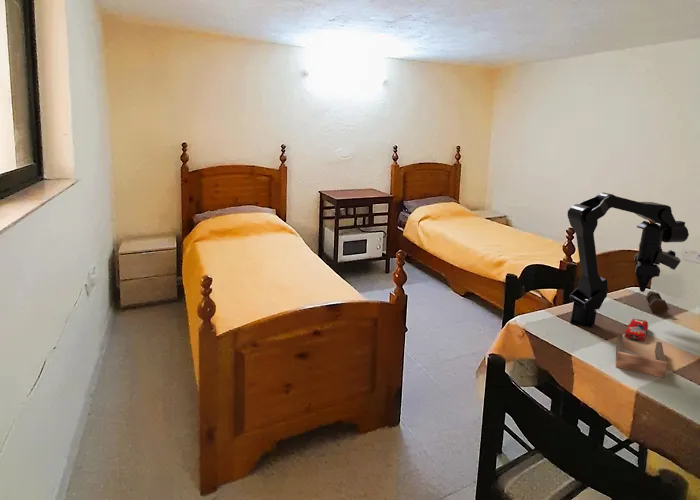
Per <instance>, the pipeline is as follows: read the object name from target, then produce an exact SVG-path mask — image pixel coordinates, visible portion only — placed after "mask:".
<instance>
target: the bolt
mask: <svg viewBox="0 0 700 500" xmlns="http://www.w3.org/2000/svg"><path fill="white" fill-rule="evenodd" d="M645 299H646V301H647V303H648V307H649V309H650V311H651V313H652V314H656V315H664V314H665V313H666V312H667V311H668V310H669V306H668V304H667V302H666V300H665V299H663V298H662V297H661V295H660V293H659V292H656V291H651V290H650V291H649V292H647V294H646V295H645Z"/></svg>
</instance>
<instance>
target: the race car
mask: <svg viewBox="0 0 700 500" xmlns="http://www.w3.org/2000/svg"><path fill="white" fill-rule="evenodd" d="M626 326H627V328H626V330H625V332H624V333H625V334H624V337H625V338H628V339H631V340H634V341H640V342H644V341H645V339H646V336H647V333H648V330H649V323H648V321H647V320H644V319H640V318H632V319H631V320H630V321H629V323H628V324H626Z"/></svg>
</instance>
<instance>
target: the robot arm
mask: <svg viewBox="0 0 700 500" xmlns="http://www.w3.org/2000/svg"><path fill="white" fill-rule="evenodd" d="M611 208H613V209H616V210H620V211H624V212H629V213H633V214H635V215H636V216H638V217H640V218H642V219H644V220H643V221H642V222H640V223H639V224H637V225H636V228H638V229H642V230H641V231H642V232H641V236H640V241H639V245H638V252H637V253H635V254H634V258H633V259H634V268H635V270H634V271H635V277H636V279H637V280H636V281H637V284H638V288H639V291H640V293H641V292H642V293H645V291H646V290H647V287H648V285H649V283H650V282H651V280H652V279H653V278H656V277H660V273H661V268H660V267H659V265H660V264H661V265H664V266H666V267H668V268H669V269H671V270H672V271H673V270H674V271H675V270H676V269H677V267H678V266H679V265H680V263H681V262H682V261H681V259H680V258H679V257H678V256H676V255H677V253H676V251H673V250H671V249H670V250H668V251H664V250H663V248H662V243H684V242H685V241H687V240H688V238H689V230H688V228H687V226H686V222H685V221H684V220H683V221H682V220H676V219H675V217H674V215H673V212H672V207H671V206H670V205H667V204H663V203H658V202H655V201H636V200H632V199H628V198H625V197H620V196H617V195H614V194H612V193H607V192H601V193H598V194H597V195H595V196H593V197H590V198H588V199H585V200H582V201H580V202H578V203H576V204H573V205H572V206H571V207H570V208H569V209H568V210H567V214H566V215H567V219H568V221H569V225H570V227H571V228H572V230H573V231H574V234H575V236H576V243H577V249H578V250H577V251H578V257H579V258H578V259H579V266H580V277H579V279H578V281H577V287H576V288H575V289H574V290H573V291H572V292H571V293H569V300H570V301H571V302H573V303H572V304H573V305H572V312H571V317H570V321H569V323H570V324H572V325H578V326H582V327H587V328H593V325H595V323H596V317H597V311H598V310H600V309H601V307H602V305H603V303H604V301H605V300H606V299H607V296H608V292H609V289H608V280H607V279H606V278H604V277H602V276H600V274H599V268H598V267H599V266H598V259H597V248H596V243H595V231H596V229H597V227H598V224H599V223H598V222H599V219H601V218H602V217H604V216H605V215H606V214H607V212H608V211H609V210H610V209H611ZM646 220H647V221H646ZM649 221H651V222H649Z"/></svg>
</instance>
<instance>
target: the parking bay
mask: <svg viewBox="0 0 700 500" xmlns="http://www.w3.org/2000/svg"><path fill="white" fill-rule="evenodd" d="M623 337H624V336H623V334H621V333H617V336H616V343H615V368H620V369H624V370H629V371H632V372H633V371H634V372H638V373H640V374H641V373H642V374H646V375H648V376H649V375H650V376H655V377H657V378H663V379H664V378H665V376H666V371H667V366H668V362H667V361H666V359H665V352H664V346H663V342H660V341H656V345H655V348H654V355H655V358H651V357H646V356H643V355H637V354H632V353H628V352H623V346H624V345H623V342H624V340H623V339H624V338H623Z"/></svg>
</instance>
